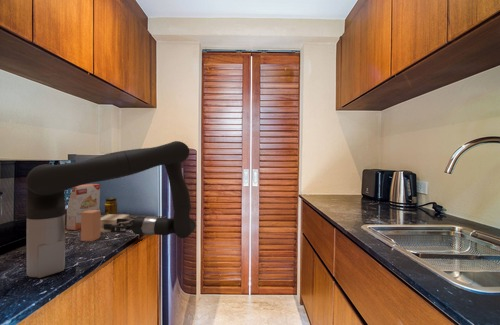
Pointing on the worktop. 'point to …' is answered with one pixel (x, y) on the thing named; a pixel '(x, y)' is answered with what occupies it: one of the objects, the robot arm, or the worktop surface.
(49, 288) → the worktop surface
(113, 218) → the birch base block
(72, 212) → the cracker box
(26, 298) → the worktop surface
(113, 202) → the condiment
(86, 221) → the orange block
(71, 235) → the worktop surface
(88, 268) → the worktop surface
